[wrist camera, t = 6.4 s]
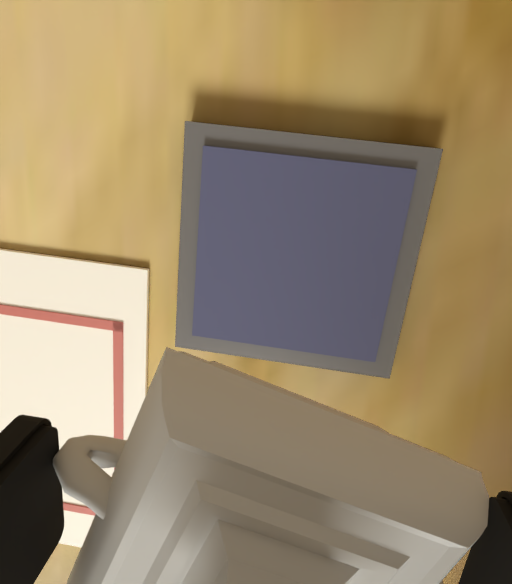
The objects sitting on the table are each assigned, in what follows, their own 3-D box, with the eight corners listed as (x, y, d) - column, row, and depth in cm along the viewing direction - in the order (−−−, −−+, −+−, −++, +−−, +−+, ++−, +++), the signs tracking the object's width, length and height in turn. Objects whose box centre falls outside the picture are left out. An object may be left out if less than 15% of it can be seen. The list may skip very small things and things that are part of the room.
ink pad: (436, 148, 22) (444, 149, 20) (386, 367, 26) (390, 381, 24) (191, 121, 23) (183, 121, 21) (181, 337, 27) (173, 349, 25)
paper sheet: (149, 268, 26) (147, 270, 25) (143, 555, 33) (141, 560, 33) (-113, 232, 27) (-119, 234, 26) (-61, 516, 34) (-65, 521, 34)
